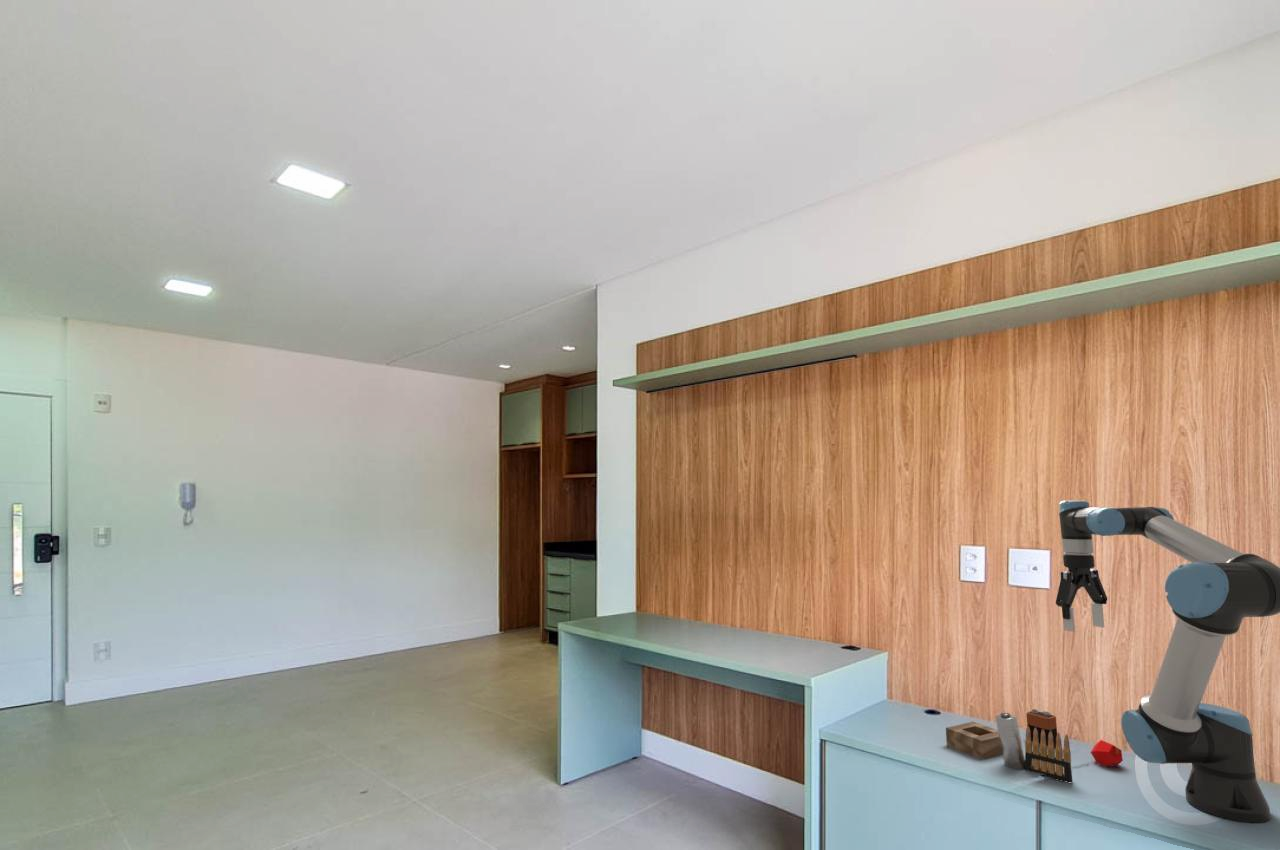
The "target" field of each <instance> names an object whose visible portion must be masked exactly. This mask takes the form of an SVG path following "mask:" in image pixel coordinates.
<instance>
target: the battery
mask: <svg viewBox="0 0 1280 850" xmlns="http://www.w3.org/2000/svg"><path fill="white" fill-rule="evenodd" d="M1025 714H1026V727H1027V726H1029V728H1030V732H1031V741H1032V743H1033V732H1034V729H1035V727H1036V729H1037V732H1038V739H1039V745H1040V742H1041V731H1042V729H1044V732H1045V736H1046V745H1047V747H1048V736H1049V732H1050V731H1051V732H1052V735H1053V742H1054V748H1056V737H1057V733H1058V728H1057V727H1058V726H1057V716H1056V715H1055V714H1054V715H1053V714H1052V713H1051V712H1049V711H1046V710H1045V711H1038V709H1035V708H1032V709H1031V711H1028V712H1026V713H1025Z"/></svg>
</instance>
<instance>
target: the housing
mask: <svg viewBox="0 0 1280 850" xmlns="http://www.w3.org/2000/svg"><path fill="white" fill-rule="evenodd" d="M945 737H946V739H945V740H946V746H947V747H950V748H952V749H954V750H957V751H960V752H962V753H965V754H967V755H970V756H972V757H975V758H978V759H980V760H986V759H990V758H991V759H992V758H993V757H994V758H995V757H998V756H1003V753H1002V748H1001V743H1000V738H999V733H998V729H996V728H993V727H991V726H988V725H984V724H981V723H979V722H976V721H970V722H966V723H961V724H957V725H952V726H946V727H945Z"/></svg>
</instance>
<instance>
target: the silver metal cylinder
mask: <svg viewBox="0 0 1280 850" xmlns="http://www.w3.org/2000/svg"><path fill="white" fill-rule="evenodd" d="M995 722H996V727H997V730H998V733H999V738H1000V743H1001V748H1002V753H1003V754H1002V758H1003V763H1004V766H1005V767H1007V768H1008V769H1012V770H1017V771H1018V770H1019V771H1023V770H1024V771H1025V754H1024V753H1025V752H1024V749H1023V748H1024V747H1023V744H1022V738H1021V734H1020V733H1021V732H1020V728H1019V724H1018V717H1017V716H1016V715H1013V714H1010V713H1009V712H1001V713H1000V714H997V715H995Z"/></svg>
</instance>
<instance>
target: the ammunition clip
mask: <svg viewBox="0 0 1280 850" xmlns="http://www.w3.org/2000/svg"><path fill="white" fill-rule="evenodd" d="M1025 729H1026V730H1025V740H1024V748H1025V749H1024V751H1025V752H1024V753H1025V754H1024V758H1025V769H1024V771H1030V772H1032V773H1033V772H1034V773H1037V774H1041V775H1040V776H1041V777H1044V778H1049V779H1054V780H1056V779H1058V780H1057V781H1060V780H1062V781H1061V782H1064V781H1067V782H1066V783H1068V782H1072V783H1073V774H1072V773H1073V772H1072V755H1071V748H1070V747H1071V746H1070V739H1069V735H1068V734H1067V733H1066V734H1065V736H1064V740H1063V744H1062V738H1061V734H1060V732H1057V737H1056V748H1054V742H1053V735H1052V732H1051V731H1050V732H1049V736H1048V746H1047V745H1046V736H1045V732H1044V729H1042V731H1041V742H1040V744H1039V739H1038V732H1037V729H1036V727H1035V729H1034V732H1033V742H1032V741H1031V732H1030V728H1029V726H1027V725H1026V728H1025ZM1062 745H1063V746H1062ZM1062 747H1063V748H1062Z"/></svg>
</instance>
